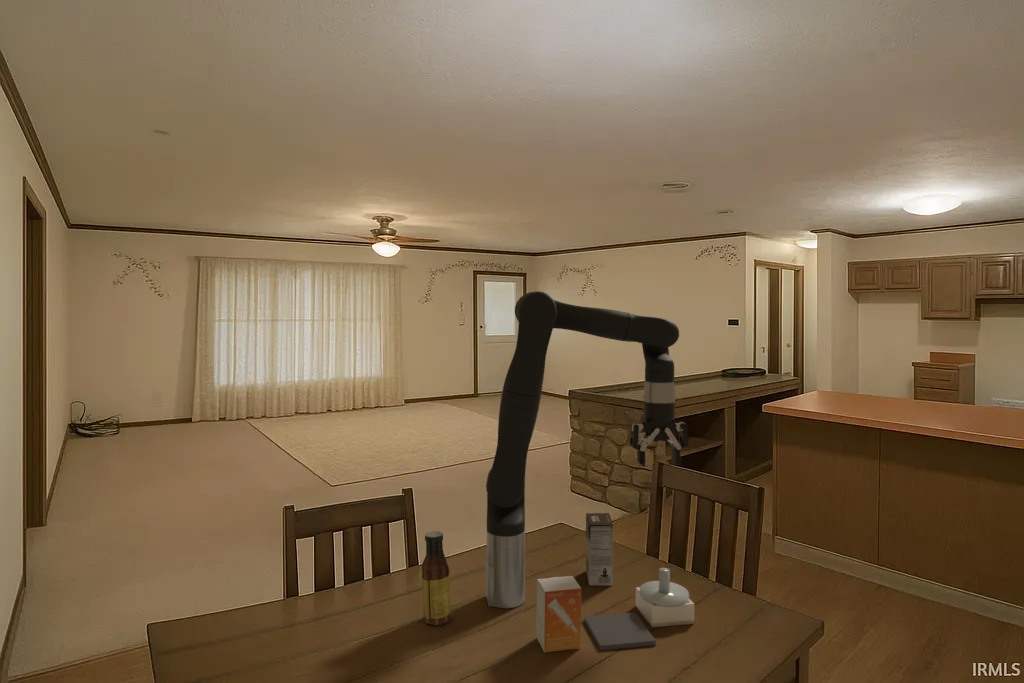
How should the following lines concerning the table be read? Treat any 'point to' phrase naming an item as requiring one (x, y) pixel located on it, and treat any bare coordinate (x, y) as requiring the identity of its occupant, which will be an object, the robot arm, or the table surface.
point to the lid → (664, 591)
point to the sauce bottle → (435, 581)
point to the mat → (619, 631)
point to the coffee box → (599, 548)
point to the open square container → (665, 612)
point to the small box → (558, 613)
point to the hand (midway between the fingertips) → (658, 464)
